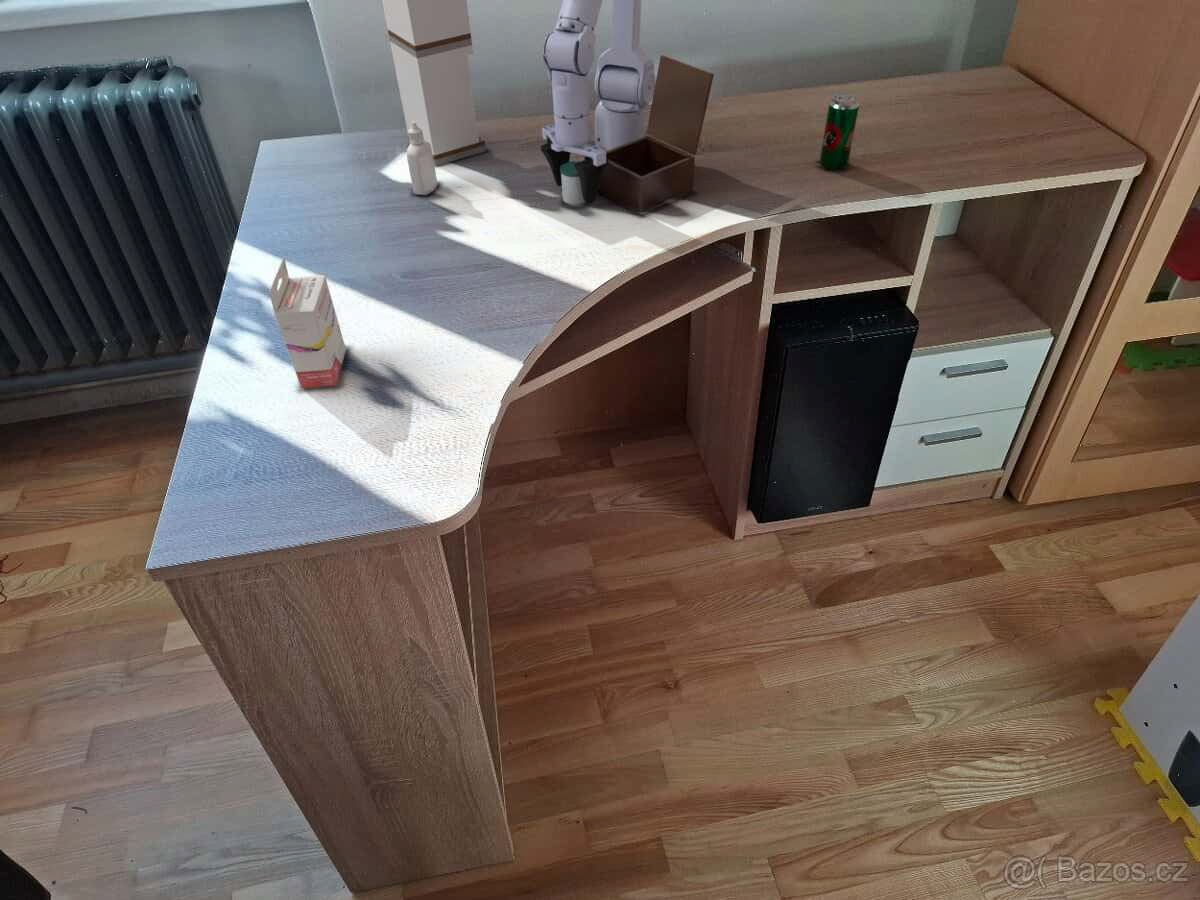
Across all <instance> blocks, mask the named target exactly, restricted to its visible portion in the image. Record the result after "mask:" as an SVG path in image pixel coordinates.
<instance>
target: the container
mask: <svg viewBox="0 0 1200 900" xmlns="http://www.w3.org/2000/svg"><path fill="white" fill-rule="evenodd" d="M578 162H581V160H571V161H569V162H567V163H564V164H563V165H561V167H560V172H561V179H562V186H561V193H562V194H561V195H562V200H563V202H565V203H566V204H570V205H580V204H585V203H586V202H585V201H584V199H583V195H582V187H581V181H580V178H579V175H578V172H577V170H576V168H575V166H574V164H575V163H578Z"/></svg>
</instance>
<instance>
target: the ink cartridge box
mask: <svg viewBox="0 0 1200 900" xmlns="http://www.w3.org/2000/svg"><path fill="white" fill-rule="evenodd" d="M273 278H274V279H273V280H272V283H271V286H270V288H269V297H270V300H271V304H272V305H271V306H272V309H273V312H274V317H275V320H276V323H277V326H278V328H279V330H280V333H281V336H282V339H283V342H284V345H285V347H286V350H287V353H288V357H289V358H290V362H291V364H292V367H293V369H294V373H295V374H296V377H297V380H298V384H299V386H300V388H301V389H312V388H325V387H336V386H338V382H339V378H340V374H341V370H342V366H343V363H344V359H345V354H346V350H347V347H346V344H345V341H344V337H343V334H342V330H341V327H340V324H339V320H338V317H337V313H336V309H335V306H334V303H333V299H332V295H331V291H330V289H329V285H328V281H327V277H326V275H325V274H324V275H322V274H321V275H308V276H297V277H296V276H295V277H293V276H291V277H290V276H289V272H288V268H287V263H286V259H285V258H282V259H281V262H280V264H279V266H278V269H277V271H276V273H275V276H274V277H273ZM280 280H281V282H279V281H280ZM279 283H280V284H279ZM278 286H279V287H278Z"/></svg>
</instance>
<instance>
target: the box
mask: <svg viewBox="0 0 1200 900" xmlns="http://www.w3.org/2000/svg"><path fill="white" fill-rule="evenodd" d="M605 151H606V150H605ZM606 158H607V159H608V165H607V166H606V168H605V170H604V172H603V174H602V176H601V179H600V182H599V185H598V189H597V190H599V191H601V192H603V193H604V194H606V195H608V196H610V197H612V198H614V199H615V200H617V201H619V202H621V203H623V204H625V205H627V206H629V207H630V208H632V209H634V210H636V211H638V212H639V213H644V212H645V211H648V210H650V209H652V208H654V207H657V206H659V205H661V204H663V203H667V202H668V201H671V200H673V199H675V198H678V197H680V196H681V195H685V194H686V193H688V192H691V191H693V190H694V177H695V176H694V175H695V156H694V155H692V154H690V153H688V152H685V151H683V150H681V149H679V148H677V147H674V146H672V145H670V144H668V143H667V144H666V142H664V141H661V140H659V139H657V138H655V137H653V136H650V135H645V137H642V138H640V139H637V140H634V141H632V142H629V143H627V144H624V145H621V146H619V147H616V148H614V149H611V150H608V151H606Z"/></svg>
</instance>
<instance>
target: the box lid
mask: <svg viewBox="0 0 1200 900" xmlns="http://www.w3.org/2000/svg"><path fill="white" fill-rule="evenodd" d="M714 76H715V73H714V72H710V71H708V70H705V69H704V68H703V69H702V68H700V67H697V66H694V65H692V64H689V63H687V62H684V61H681V60H678V59H675V58H672V57H669V56H666V55H664V54H660V58H659V62H658V68H657V74H656V77H655V82H656V83H655V89H654V94H653V98H652V101H651V105H650V106H651V107H650V112H649V117H648V120H647V121H648V122H647V127H646V132H645V134H646V135H648V136H650V137H652V138H654V139H656V140H659V141H661V142H663V143H665V144H666V143H667V145H670V146H672V147H674V148H676V149H679V150H681V151H683V152H685V153H687V154H690V155H692V156H696V155H697V152H698V148H699V143H700V139H701V134H702V129H703V127H704V121H705V116H706V112H707V108H708V103H709V97H710V94H711V90H712V85H713V80H714Z"/></svg>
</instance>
